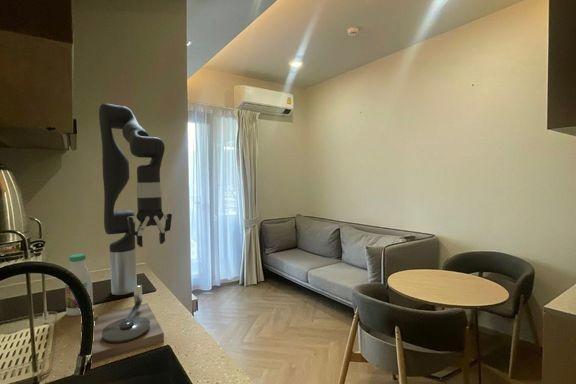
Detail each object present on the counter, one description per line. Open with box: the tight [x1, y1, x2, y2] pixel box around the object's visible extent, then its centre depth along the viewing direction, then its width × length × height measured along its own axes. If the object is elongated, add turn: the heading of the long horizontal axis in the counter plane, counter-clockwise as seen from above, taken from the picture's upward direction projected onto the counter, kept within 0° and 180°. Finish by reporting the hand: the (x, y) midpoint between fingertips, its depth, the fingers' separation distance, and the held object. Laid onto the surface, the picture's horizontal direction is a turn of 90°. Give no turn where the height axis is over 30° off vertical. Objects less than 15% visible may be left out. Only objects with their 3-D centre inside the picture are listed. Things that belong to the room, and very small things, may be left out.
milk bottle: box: [64, 253, 94, 317], centre depth 104 cm, size 8×8×20 cm
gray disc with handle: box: [102, 284, 150, 343], centre depth 90 cm, size 22×12×8 cm, turn 15°
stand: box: [92, 303, 165, 364], centre depth 89 cm, size 24×18×4 cm
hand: (151, 244), depth 102 cm, fingers open, 6 cm apart
